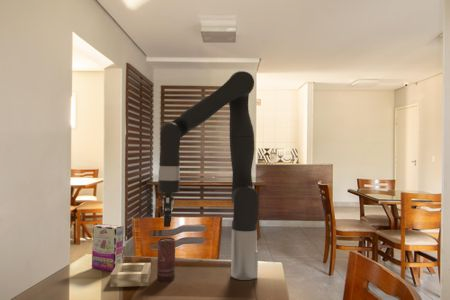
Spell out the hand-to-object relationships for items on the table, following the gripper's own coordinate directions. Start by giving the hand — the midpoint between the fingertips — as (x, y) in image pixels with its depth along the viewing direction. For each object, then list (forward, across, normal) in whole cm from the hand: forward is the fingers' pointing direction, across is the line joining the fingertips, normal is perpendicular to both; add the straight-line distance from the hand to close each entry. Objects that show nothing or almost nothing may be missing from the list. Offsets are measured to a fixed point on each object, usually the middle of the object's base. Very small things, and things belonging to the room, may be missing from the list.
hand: (167, 224), depth 120 cm
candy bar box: (+20, +13, +23) cm, 33 cm away
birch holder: (+19, 0, +12) cm, 23 cm away
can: (+19, 0, 0) cm, 19 cm away
